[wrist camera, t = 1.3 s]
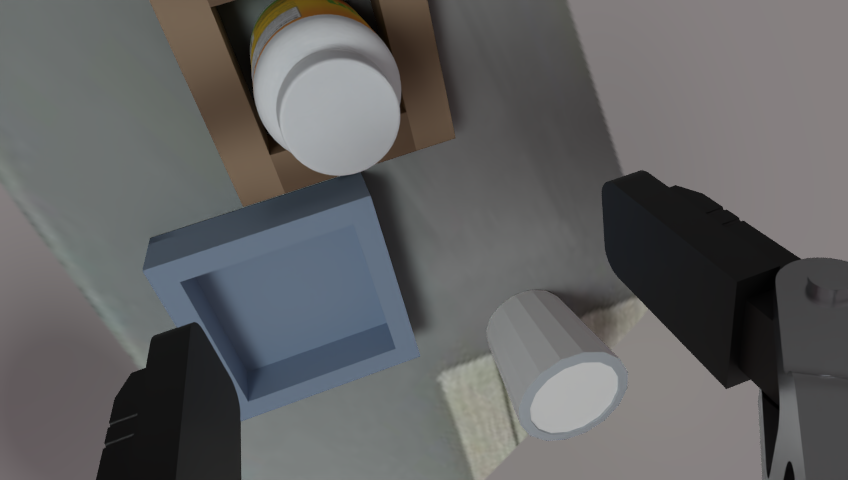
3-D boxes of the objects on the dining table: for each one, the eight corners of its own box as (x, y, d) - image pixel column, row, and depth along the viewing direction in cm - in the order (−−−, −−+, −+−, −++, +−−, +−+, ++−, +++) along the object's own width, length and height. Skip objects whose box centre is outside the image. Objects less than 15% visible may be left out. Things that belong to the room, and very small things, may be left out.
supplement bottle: (391, 50, 28) (453, 117, 20) (313, 129, 29) (343, 224, 21) (307, -42, 26) (341, -5, 18) (223, 50, 26) (219, 124, 18)
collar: (142, -41, 24) (134, -33, 22) (391, -109, 25) (405, -108, 23) (242, 184, 30) (243, 206, 28) (440, 120, 31) (455, 138, 29)
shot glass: (581, 335, 42) (637, 408, 36) (494, 378, 42) (535, 459, 36) (560, 264, 38) (619, 333, 32) (463, 311, 38) (505, 389, 32)
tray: (150, 238, 30) (142, 270, 27) (359, 170, 31) (370, 195, 29) (235, 385, 36) (235, 423, 34) (407, 324, 37) (420, 356, 35)
